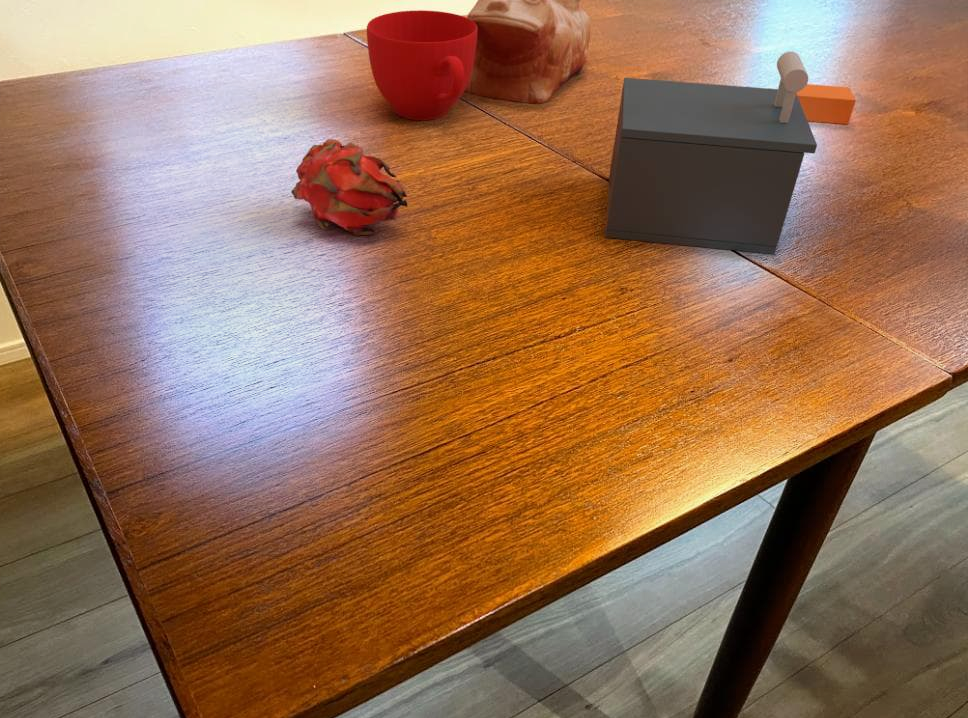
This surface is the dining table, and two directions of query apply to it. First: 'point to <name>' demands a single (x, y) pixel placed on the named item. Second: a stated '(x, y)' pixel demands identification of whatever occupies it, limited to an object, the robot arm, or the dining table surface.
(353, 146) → the dragon fruit
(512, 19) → the ceramic vessel
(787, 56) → the box lid
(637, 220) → the storage bin
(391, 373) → the dining table surface
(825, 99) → the packet
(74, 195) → the dining table surface
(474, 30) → the ceramic cup
